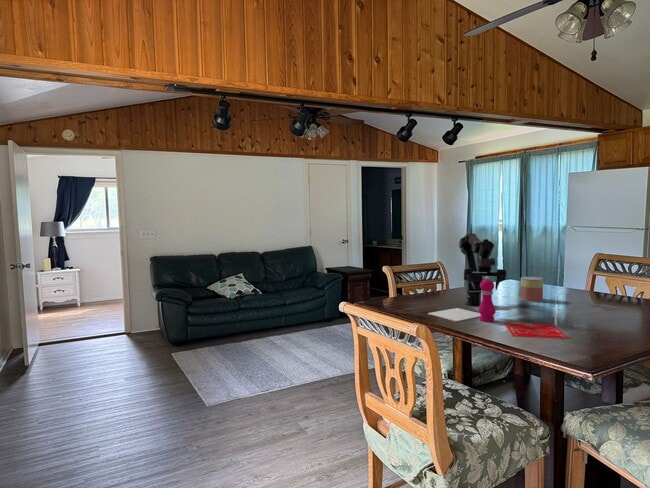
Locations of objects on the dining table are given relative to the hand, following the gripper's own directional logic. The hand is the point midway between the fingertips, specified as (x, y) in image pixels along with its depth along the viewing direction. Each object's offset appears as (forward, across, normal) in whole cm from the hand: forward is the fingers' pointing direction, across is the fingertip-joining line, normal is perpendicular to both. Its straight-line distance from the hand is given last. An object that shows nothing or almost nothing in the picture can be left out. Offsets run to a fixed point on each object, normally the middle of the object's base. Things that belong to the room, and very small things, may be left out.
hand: (485, 289), depth 200 cm
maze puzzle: (+24, +17, -4) cm, 30 cm away
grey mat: (+8, -13, +11) cm, 19 cm away
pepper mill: (+14, 0, +5) cm, 15 cm away
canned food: (-23, +28, +42) cm, 56 cm away
